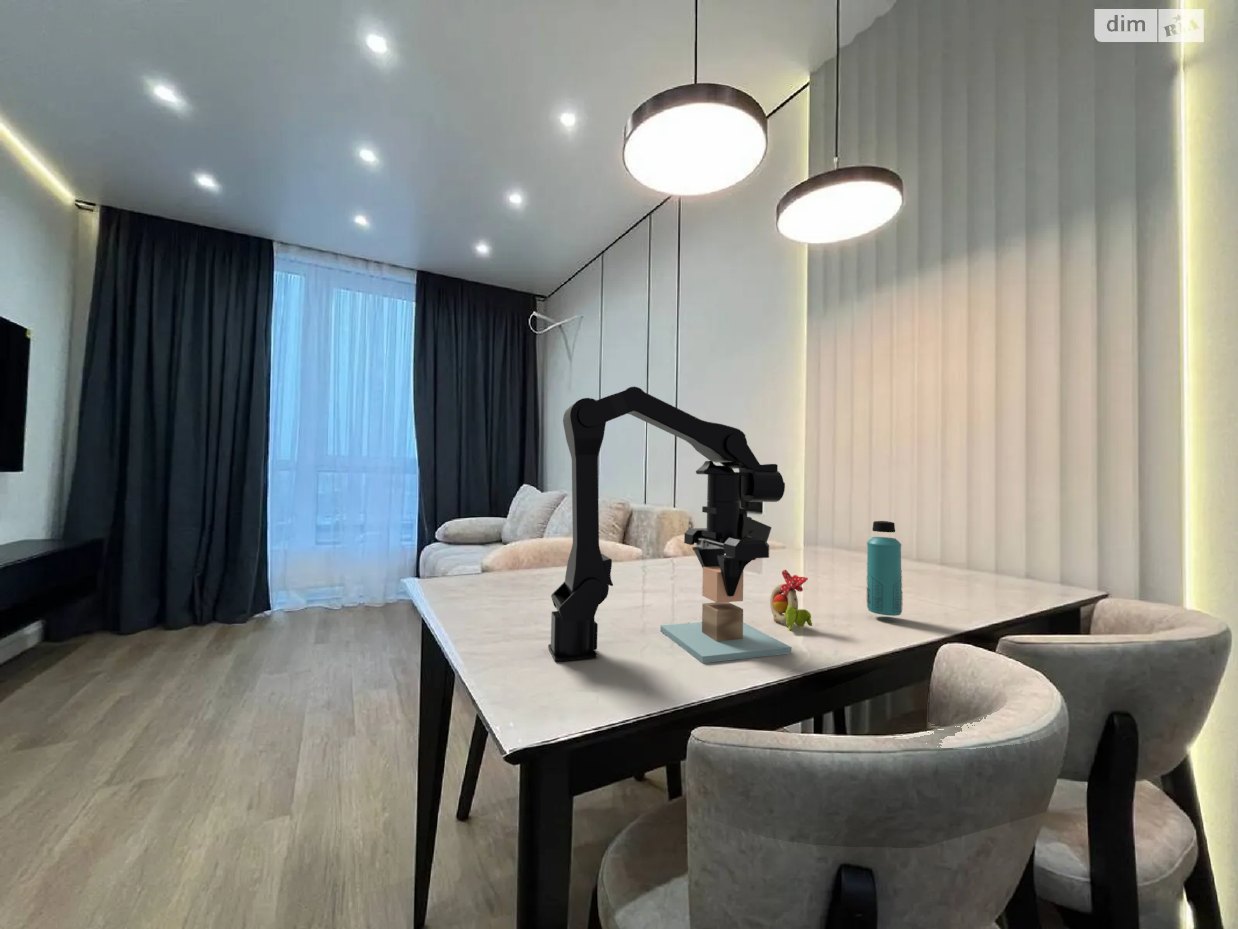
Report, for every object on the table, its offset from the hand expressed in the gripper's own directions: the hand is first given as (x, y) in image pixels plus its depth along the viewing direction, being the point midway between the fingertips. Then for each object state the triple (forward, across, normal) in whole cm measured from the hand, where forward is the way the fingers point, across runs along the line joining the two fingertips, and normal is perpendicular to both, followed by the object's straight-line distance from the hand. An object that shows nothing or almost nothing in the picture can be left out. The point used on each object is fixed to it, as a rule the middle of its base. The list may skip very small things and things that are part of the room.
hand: (722, 592), depth 83 cm
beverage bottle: (+8, +4, -40) cm, 41 cm away
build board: (+8, 0, 0) cm, 8 cm away
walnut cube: (+7, 0, 0) cm, 7 cm away
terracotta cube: (+1, 0, 0) cm, 1 cm away
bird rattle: (+8, +5, -17) cm, 20 cm away
